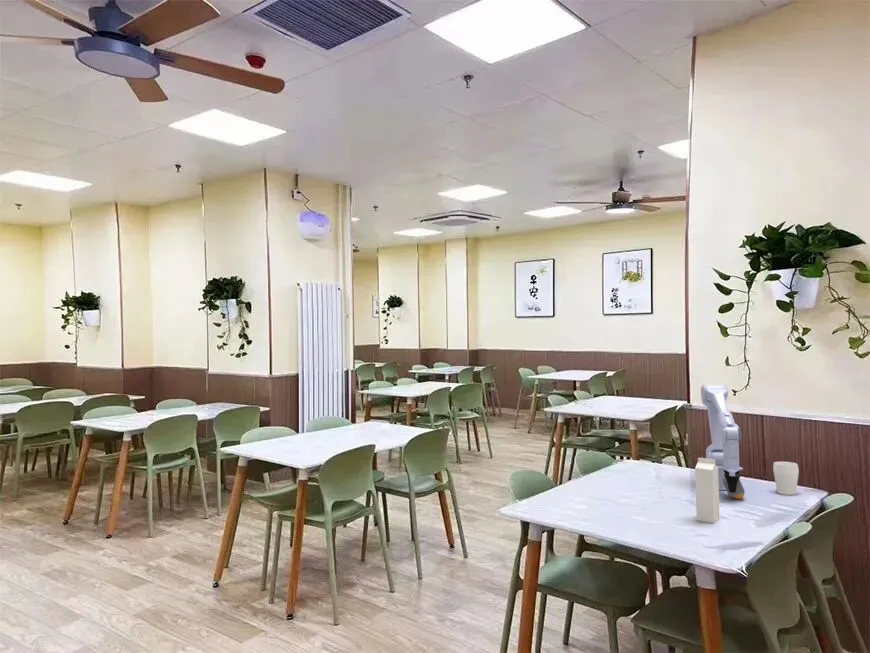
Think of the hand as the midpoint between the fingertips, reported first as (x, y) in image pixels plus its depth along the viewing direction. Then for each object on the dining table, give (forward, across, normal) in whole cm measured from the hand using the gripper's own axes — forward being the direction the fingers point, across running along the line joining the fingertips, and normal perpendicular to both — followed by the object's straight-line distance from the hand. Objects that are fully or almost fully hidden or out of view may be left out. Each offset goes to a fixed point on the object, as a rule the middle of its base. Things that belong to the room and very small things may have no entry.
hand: (732, 490), depth 242 cm
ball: (+1, 0, -2) cm, 2 cm away
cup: (+3, +15, -20) cm, 26 cm away
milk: (+3, -32, +9) cm, 33 cm away
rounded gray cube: (+1, 0, -2) cm, 2 cm away
